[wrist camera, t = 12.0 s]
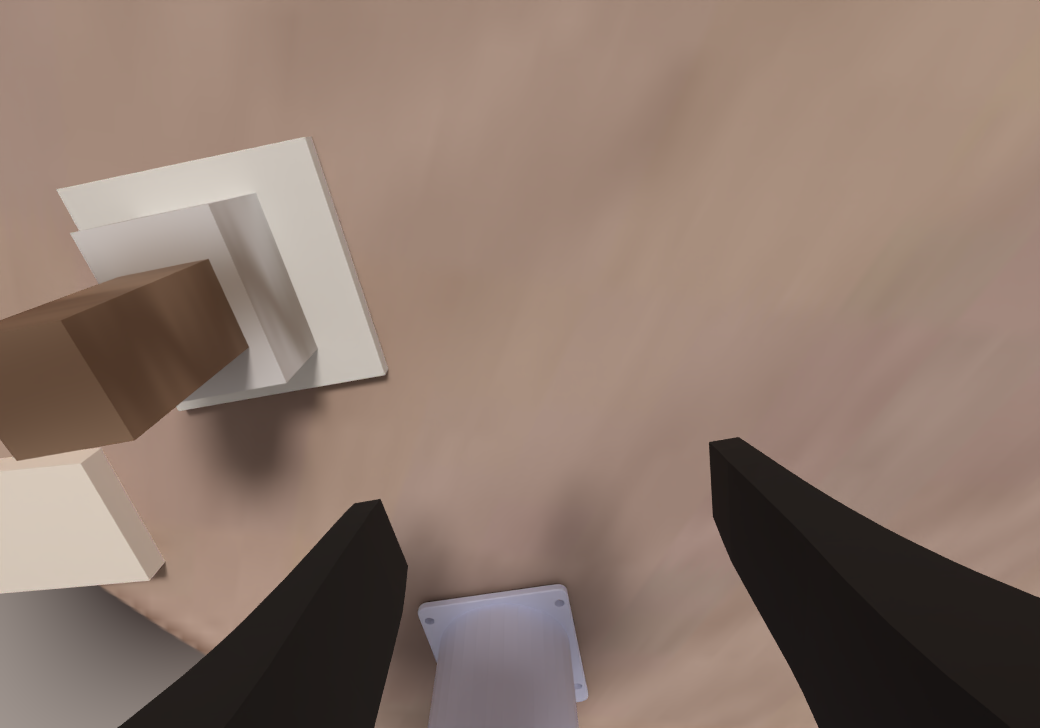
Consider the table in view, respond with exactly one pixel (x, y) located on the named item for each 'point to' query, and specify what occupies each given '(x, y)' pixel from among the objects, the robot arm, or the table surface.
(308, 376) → the mat
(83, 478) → the tile
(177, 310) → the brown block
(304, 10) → the table surface
